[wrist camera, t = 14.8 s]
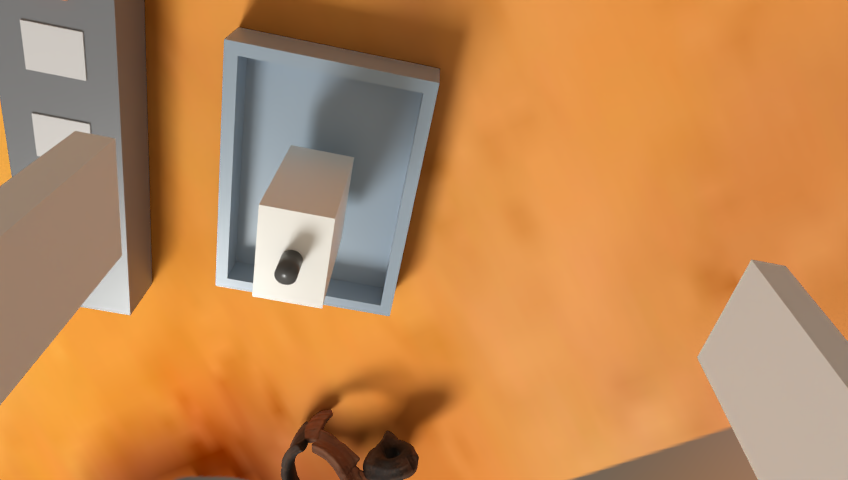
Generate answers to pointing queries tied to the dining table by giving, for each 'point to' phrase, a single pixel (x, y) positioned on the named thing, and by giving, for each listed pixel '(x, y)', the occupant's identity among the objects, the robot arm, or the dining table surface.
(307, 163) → the charger
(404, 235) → the tray
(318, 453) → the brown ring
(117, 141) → the power strip
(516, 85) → the dining table surface
